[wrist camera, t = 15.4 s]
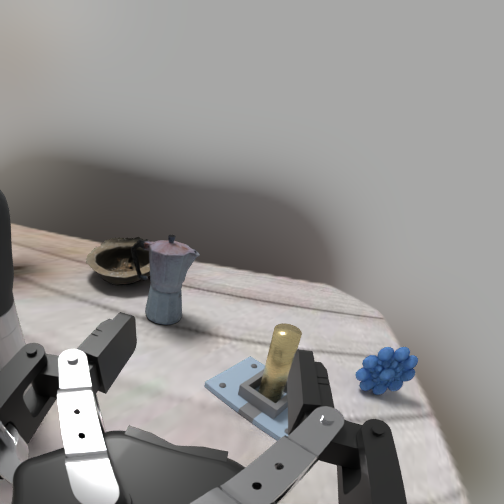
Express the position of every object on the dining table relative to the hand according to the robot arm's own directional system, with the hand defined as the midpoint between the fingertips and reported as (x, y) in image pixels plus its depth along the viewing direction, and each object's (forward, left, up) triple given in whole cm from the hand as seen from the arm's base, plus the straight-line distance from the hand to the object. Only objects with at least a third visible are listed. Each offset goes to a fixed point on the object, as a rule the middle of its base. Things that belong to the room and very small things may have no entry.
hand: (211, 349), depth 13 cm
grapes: (+7, +40, -28) cm, 50 cm away
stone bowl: (-65, +26, -29) cm, 76 cm away
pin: (-8, +23, -27) cm, 36 cm away
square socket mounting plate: (-8, +23, -28) cm, 37 cm away
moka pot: (-41, +24, -28) cm, 55 cm away
